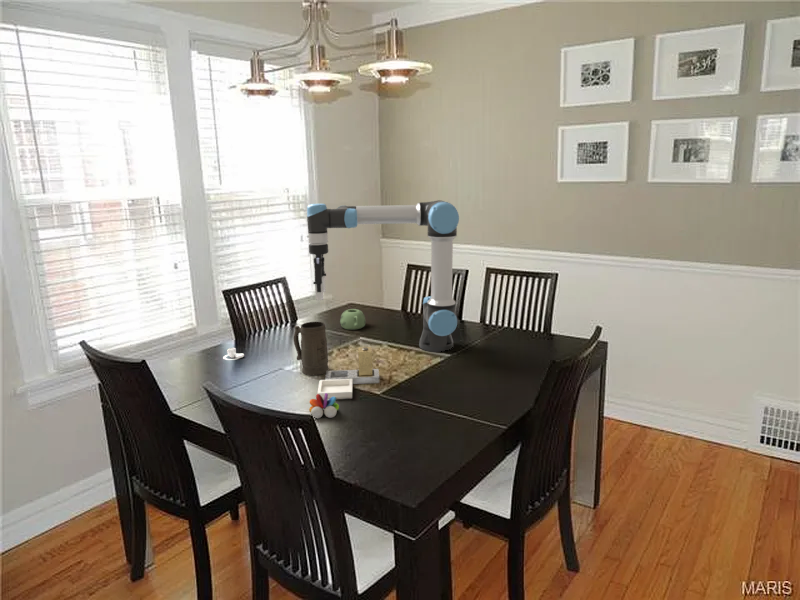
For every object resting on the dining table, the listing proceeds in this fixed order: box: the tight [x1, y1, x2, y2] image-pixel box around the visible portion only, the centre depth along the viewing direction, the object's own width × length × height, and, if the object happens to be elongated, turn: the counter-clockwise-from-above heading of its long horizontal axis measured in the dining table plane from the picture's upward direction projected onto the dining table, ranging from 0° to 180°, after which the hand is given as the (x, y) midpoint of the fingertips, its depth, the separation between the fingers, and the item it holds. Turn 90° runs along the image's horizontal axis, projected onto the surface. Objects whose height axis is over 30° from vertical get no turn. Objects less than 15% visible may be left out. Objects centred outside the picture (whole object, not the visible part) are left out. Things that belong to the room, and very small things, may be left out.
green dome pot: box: [339, 308, 366, 331], centre depth 270 cm, size 16×13×9 cm
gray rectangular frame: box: [324, 368, 380, 385], centre depth 205 cm, size 20×8×2 cm, turn 94°
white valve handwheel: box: [222, 347, 245, 361], centre depth 231 cm, size 9×8×4 cm
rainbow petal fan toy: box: [308, 393, 340, 419], centre depth 176 cm, size 8×10×7 cm
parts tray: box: [316, 379, 354, 400], centre depth 194 cm, size 12×12×2 cm
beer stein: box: [292, 321, 329, 376], centre depth 213 cm, size 15×10×20 cm
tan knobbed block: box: [357, 346, 373, 377], centre depth 204 cm, size 5×5×12 cm
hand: (320, 295), depth 218 cm, fingers open, 13 cm apart
